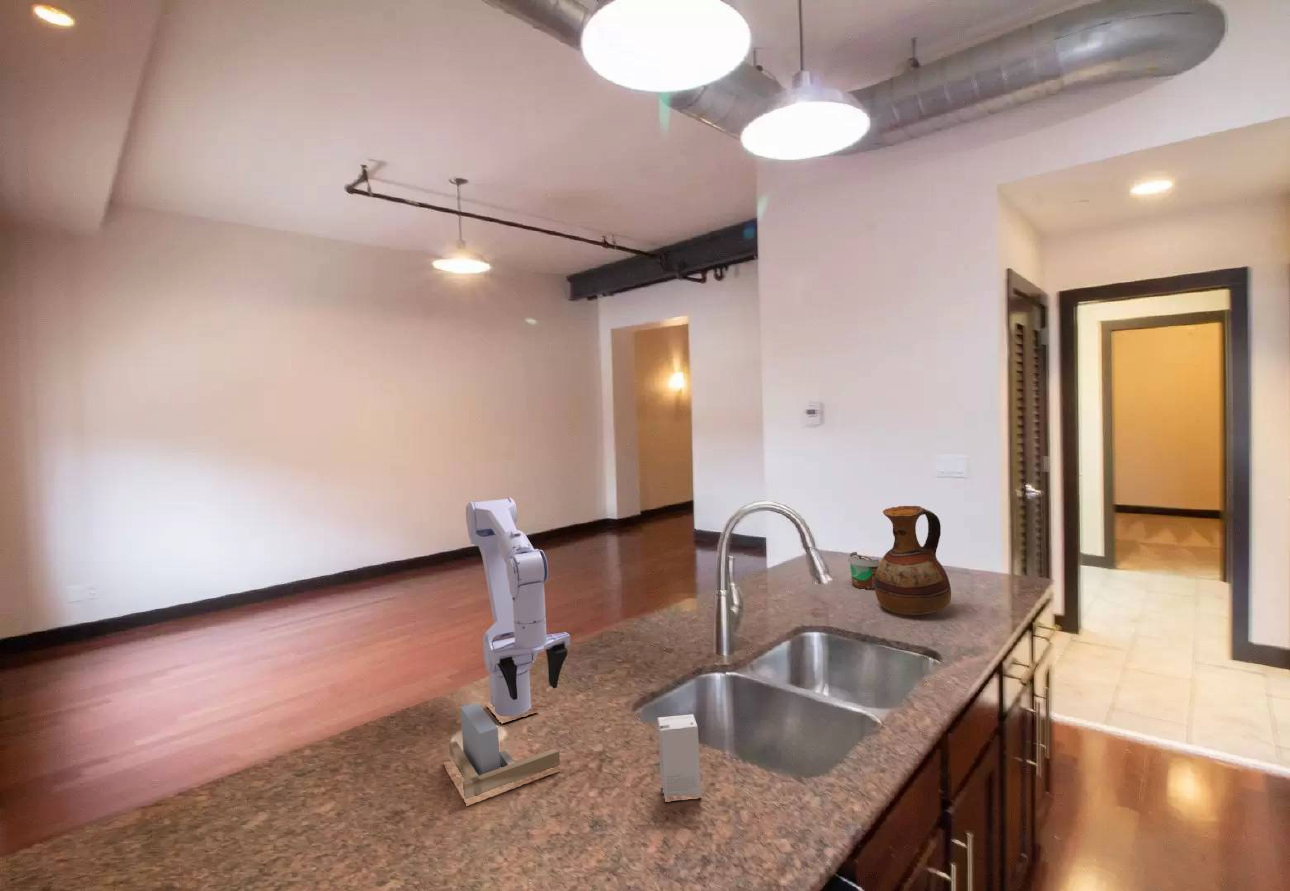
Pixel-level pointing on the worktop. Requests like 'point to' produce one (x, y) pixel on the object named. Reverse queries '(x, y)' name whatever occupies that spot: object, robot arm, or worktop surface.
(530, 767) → the book rack
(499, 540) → the robot arm
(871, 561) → the food container
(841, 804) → the worktop surface
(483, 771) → the book
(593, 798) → the worktop surface
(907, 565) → the ceramic pitcher
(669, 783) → the skincare box
